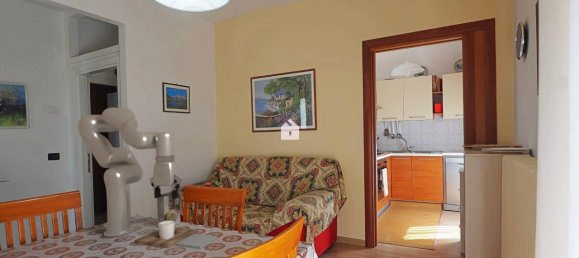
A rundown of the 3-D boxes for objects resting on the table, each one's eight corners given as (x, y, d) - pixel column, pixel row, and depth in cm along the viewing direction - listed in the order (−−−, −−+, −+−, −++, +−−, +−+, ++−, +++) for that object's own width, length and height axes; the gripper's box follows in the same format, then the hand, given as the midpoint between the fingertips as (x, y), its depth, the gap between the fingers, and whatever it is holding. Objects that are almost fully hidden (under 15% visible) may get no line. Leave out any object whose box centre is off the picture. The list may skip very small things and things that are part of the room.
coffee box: (173, 221, 153) (173, 191, 153) (180, 223, 149) (180, 192, 149) (157, 226, 145) (156, 194, 146) (164, 229, 142) (163, 196, 142)
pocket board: (134, 243, 124) (134, 240, 124) (165, 229, 141) (165, 226, 141) (168, 248, 118) (168, 244, 118) (196, 233, 135) (196, 229, 135)
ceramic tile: (175, 245, 120) (175, 243, 120) (194, 235, 132) (194, 233, 132) (200, 248, 116) (200, 246, 116) (217, 237, 128) (217, 236, 128)
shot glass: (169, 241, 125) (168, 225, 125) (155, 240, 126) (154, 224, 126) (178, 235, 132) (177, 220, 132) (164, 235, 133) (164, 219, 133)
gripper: (143, 160, 129) (144, 199, 128) (175, 160, 123) (176, 201, 123) (156, 158, 136) (157, 195, 136) (186, 159, 130) (188, 197, 130)
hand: (166, 198), depth 129 cm, fingers open, 9 cm apart
